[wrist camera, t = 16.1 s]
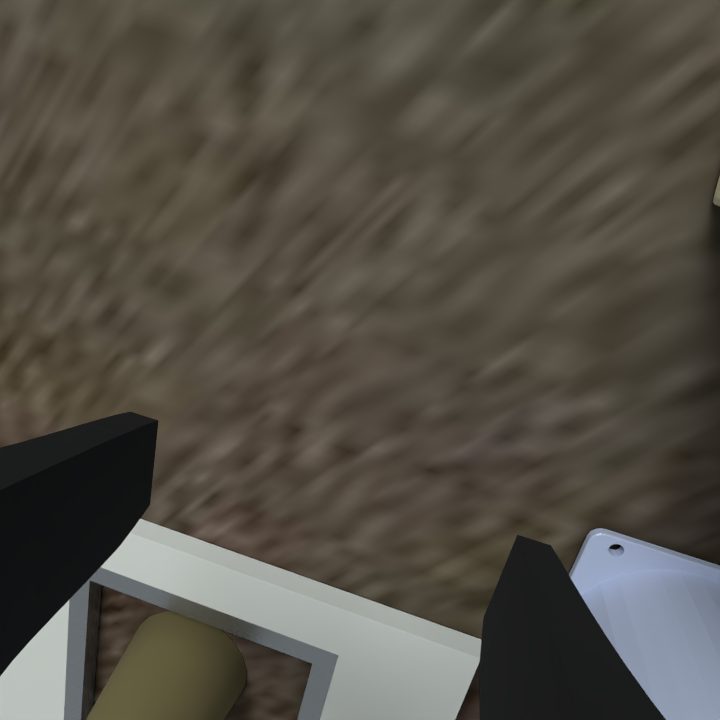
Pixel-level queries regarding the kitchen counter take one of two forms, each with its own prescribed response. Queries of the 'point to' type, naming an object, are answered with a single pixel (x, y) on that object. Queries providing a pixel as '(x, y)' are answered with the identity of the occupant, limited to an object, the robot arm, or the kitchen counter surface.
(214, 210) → the kitchen counter surface
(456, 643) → the white picture frame
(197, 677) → the cork
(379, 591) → the kitchen counter surface
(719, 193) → the coffeecake box
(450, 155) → the kitchen counter surface
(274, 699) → the kitchen counter surface
